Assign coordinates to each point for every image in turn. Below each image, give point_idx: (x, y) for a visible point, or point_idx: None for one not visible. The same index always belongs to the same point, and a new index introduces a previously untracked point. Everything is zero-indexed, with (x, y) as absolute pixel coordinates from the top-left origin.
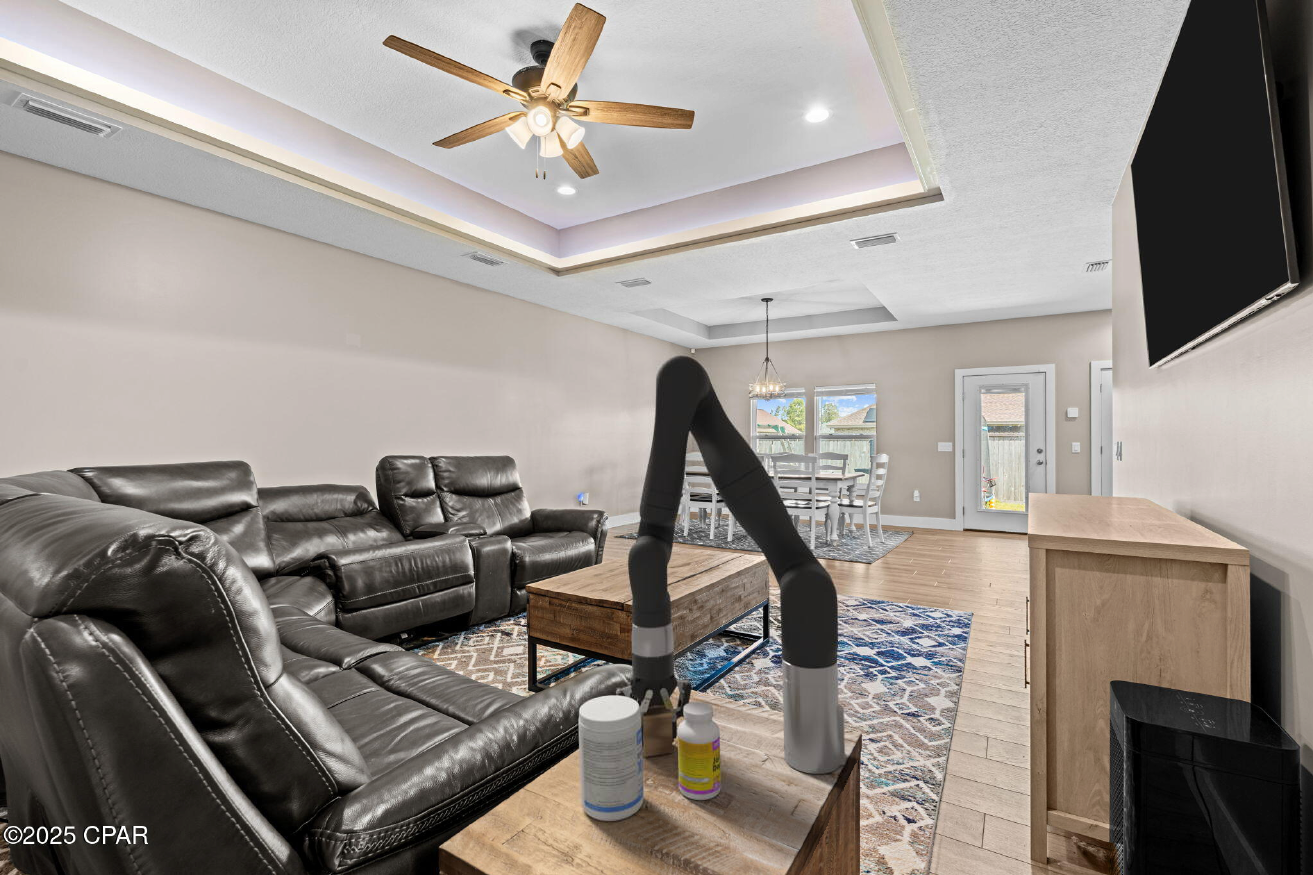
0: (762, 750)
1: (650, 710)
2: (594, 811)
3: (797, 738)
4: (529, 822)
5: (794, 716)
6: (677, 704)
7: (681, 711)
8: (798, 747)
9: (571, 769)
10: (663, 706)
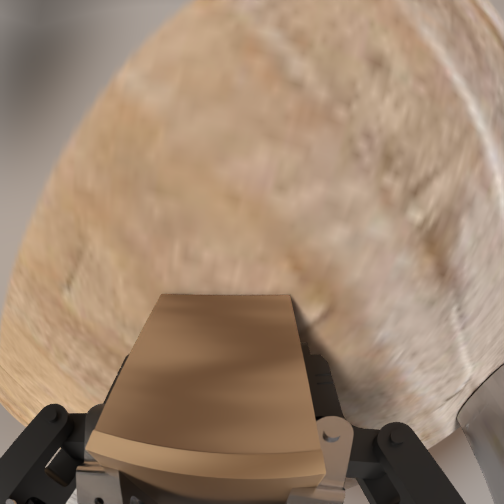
0: (475, 368)
1: (182, 501)
2: None
3: (475, 454)
4: (35, 416)
5: (487, 480)
6: (389, 461)
7: (362, 481)
8: (470, 444)
9: (17, 340)
10: (277, 499)
